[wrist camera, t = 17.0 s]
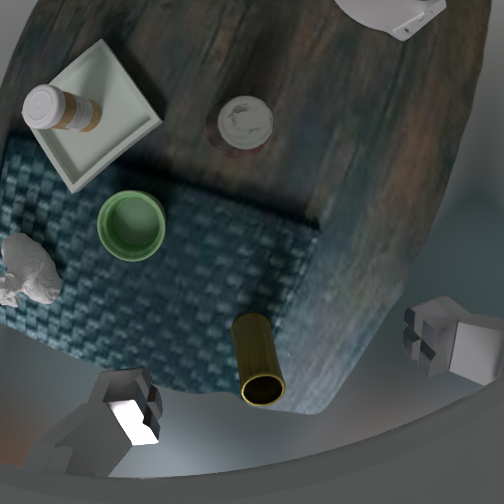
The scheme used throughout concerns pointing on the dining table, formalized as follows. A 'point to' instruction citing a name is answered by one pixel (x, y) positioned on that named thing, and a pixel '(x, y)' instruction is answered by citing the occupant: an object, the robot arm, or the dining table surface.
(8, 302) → the duck figurine
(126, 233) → the ramekin
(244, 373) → the vase
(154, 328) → the dining table surface
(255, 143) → the sauce bottle
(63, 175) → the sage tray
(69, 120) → the sprinkles bottle
